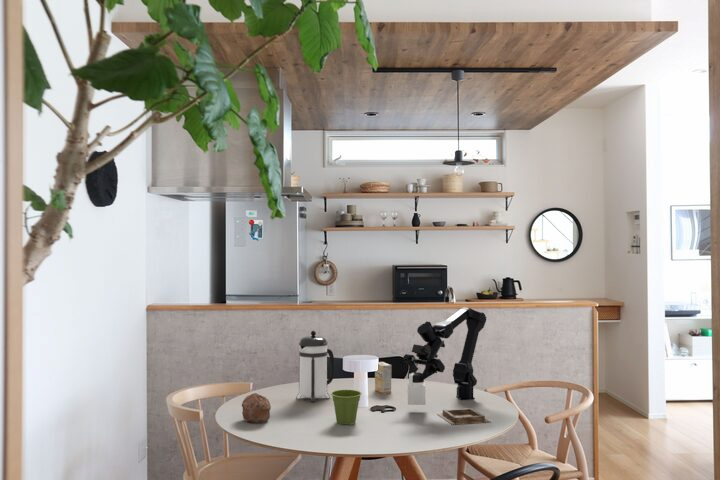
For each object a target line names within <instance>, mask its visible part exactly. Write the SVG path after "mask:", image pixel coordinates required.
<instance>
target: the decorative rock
mask: <svg viewBox="0 0 720 480" xmlns="http://www.w3.org/2000/svg"><path fill="white" fill-rule="evenodd" d="M241 408H242V411H241V412H242V418H243V420H244V421H245V422H249V423H255V424H258V423H259V424H260V423H262V422H266V421H268V420H270V417H271V412H270V411H271V408H272V406H271V403H270V400H269V399H268V398H267V397H266V396H263V395H261V394H259V393H256V392H255V393H251V394H250V395H247V396H245V397H244V399H243V400H242V403H241Z"/></svg>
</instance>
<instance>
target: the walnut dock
mask: <svg viewBox="0 0 720 480" xmlns="http://www.w3.org/2000/svg"><path fill="white" fill-rule="evenodd" d="M436 415H437V416H438V417H440V418H441V419H443V420H444V421H445V422H446V423H449V424H450V425H451V426H460V425H461V426H462V425H472V424H473V425H474V424H475V425H476V424H487V423H489V422H490V423H492V421H491V420H489V419H487V418H486V416H485V415H483V414H482V413H480V412H479V411H477V410H475V409H473V408H471V407H470V408H454V409H442V413H436ZM490 423H489V424H490Z"/></svg>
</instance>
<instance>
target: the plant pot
mask: <svg viewBox="0 0 720 480" xmlns="http://www.w3.org/2000/svg"><path fill="white" fill-rule="evenodd" d="M362 394H363V393H362V392H361V391H360V390H356V389H337V390H334V391H333V390H332V391H331V392H330V395H331V397H332V401H333V405H334V413H335V421H336V423H337V424H339V425H354V424H355V423H356V422H357V414H358V408H359V402H360V400H361V396H362Z"/></svg>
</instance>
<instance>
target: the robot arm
mask: <svg viewBox="0 0 720 480" xmlns="http://www.w3.org/2000/svg"><path fill="white" fill-rule="evenodd" d="M464 321H466V322H465V324H466V326H467V332H466V336H465V341H464V345H463V349H462V353H461V358H460V360H459V361H458V362H454V364H453V365H454V366H453V369H452V377H453V381H454V382H453V383H454V384H457V386H456V396H455V397H456V398H458V399H459V400H460V401H466V400H475V399H476V398H475V397H474V387H475V386H477V383H478V380H477V378H476V377H475V375H474V368H473V365H472V363H473V358H474V354H475V350H476V346H477V342H478V339H479V338H478V337H479V333H480V332H482V330H483V329H484V328H485V325H486V322H487V316H486V314H485V313H484V312H481V311H478V310H475V309H473V308H471V307H465V306H464V307H463V306H462V307H461V308H459V310H458V311H457V312H455V313H453V314H452V315H451V316H450V317H449V318H447V319H446V320H443V321H440V322H437V323H435V324H434V325H432V323H431V322H430V321H425V323H422V324H420V325H419V326H418V327H417V329H416V331H417V333H418V335H419V336H420V338H421V339H422V341H424V342H425V344H424V345H421V344H415V343H413V345H412V350H411V352H412V353H414V354H415V355H414V354H410V353H405V354H404V355H403V357H402V359H403V361H404V362H405V363H406V364H407V365H408V372H407V379H408V380H409V374H411V373H414V372H418V371H419V367H418V365H422V366H424V370H423V371H422V372H421V373H422V375H421V377H420V381H423V380H424V381H425V380H426V379H427V378H429V377H430V376H432V375H435V374H437V373H438V372H439V373H444V371H445V368H446V366H445V363H443V362H442V360H441V359H440V358H438V357H439V355H438V352H439V351H440V349H441V348H445V347H446V345H445V341H444V340H442V339H449V338H450V337H451V335H453V333H454V330H455V328H457V327H458V326H459V325H461V324H462V323H463V322H464ZM415 356H416V357H417V358H416V357H415Z"/></svg>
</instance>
